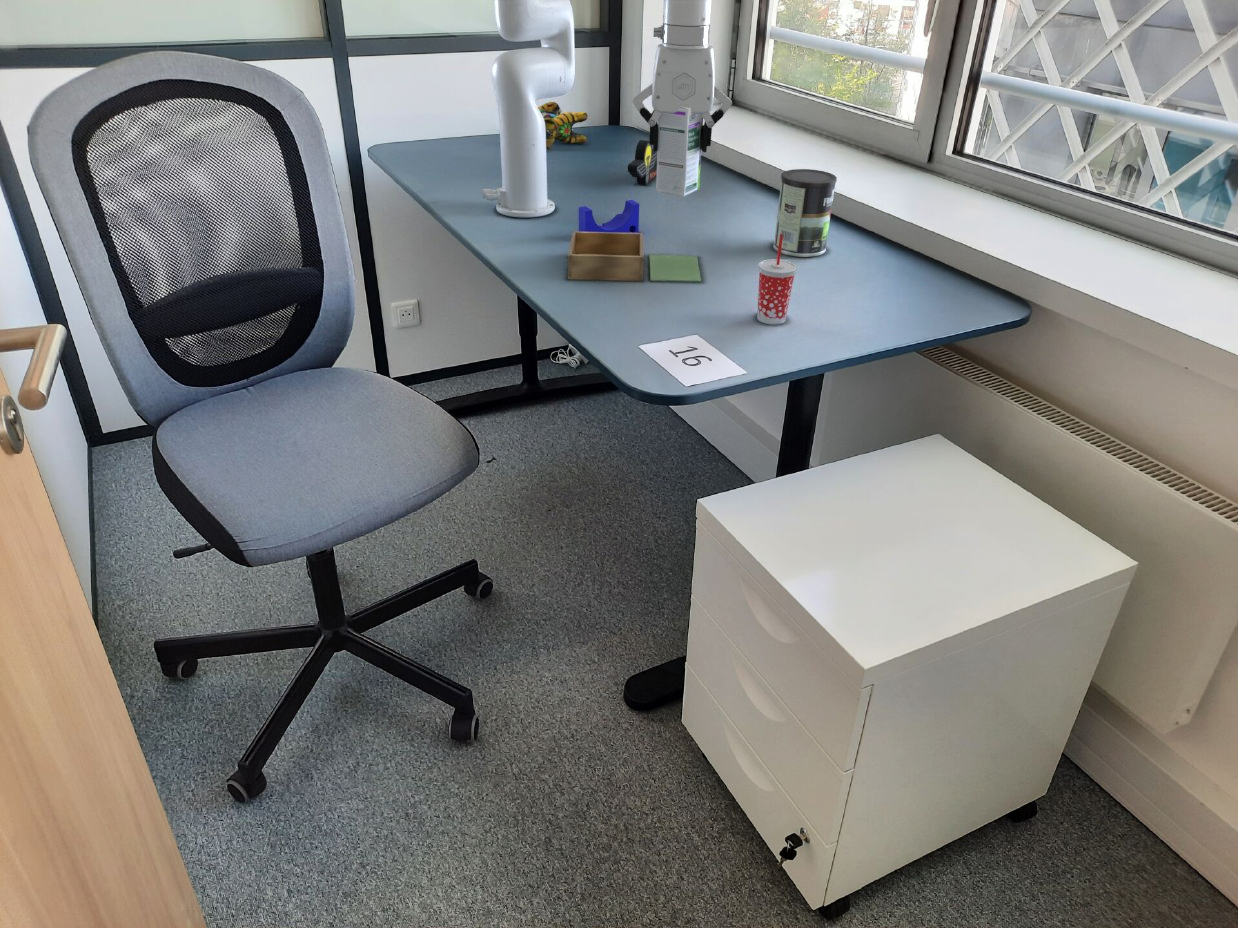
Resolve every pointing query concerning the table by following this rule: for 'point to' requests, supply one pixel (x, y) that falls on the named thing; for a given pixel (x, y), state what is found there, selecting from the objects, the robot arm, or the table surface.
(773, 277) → the beverage cup
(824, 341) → the table surface
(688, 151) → the syrup box
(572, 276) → the tray
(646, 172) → the decorative sign
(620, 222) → the cable clip
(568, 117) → the dog figurine
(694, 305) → the table surface
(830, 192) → the coffee can
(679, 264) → the mat
